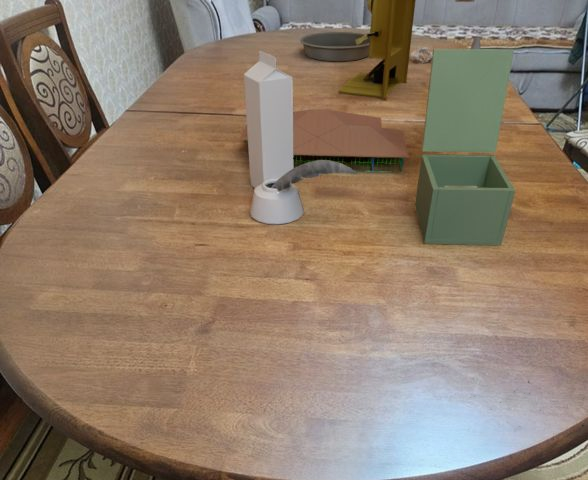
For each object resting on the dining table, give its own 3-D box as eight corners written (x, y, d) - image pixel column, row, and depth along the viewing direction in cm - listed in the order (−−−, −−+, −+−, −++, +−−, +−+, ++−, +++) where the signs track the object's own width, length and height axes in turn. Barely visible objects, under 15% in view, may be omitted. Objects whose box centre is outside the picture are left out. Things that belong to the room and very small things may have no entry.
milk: (264, 197, 97) (257, 60, 83) (250, 185, 101) (241, 52, 87) (294, 190, 99) (292, 55, 85) (279, 178, 103) (275, 47, 89)
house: (253, 130, 124) (251, 92, 119) (400, 133, 121) (404, 94, 116) (235, 169, 107) (232, 126, 101) (406, 174, 104) (411, 130, 99)
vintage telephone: (368, 71, 163) (377, -53, 144) (414, 76, 158) (429, -52, 139) (328, 100, 142) (332, -42, 122) (379, 106, 137) (392, -41, 118)
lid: (514, 49, 80) (512, 49, 80) (434, 49, 80) (433, 49, 81) (495, 152, 87) (494, 151, 88) (422, 151, 88) (421, 150, 88)
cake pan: (368, 45, 191) (369, 30, 188) (380, 62, 172) (381, 46, 169) (298, 46, 190) (297, 32, 187) (302, 63, 171) (302, 47, 168)
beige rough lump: (415, 51, 167) (409, 44, 171) (413, 66, 170) (407, 59, 174) (440, 49, 167) (434, 43, 172) (438, 64, 170) (431, 57, 175)
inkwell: (259, 198, 97) (256, 141, 90) (360, 209, 93) (364, 151, 86) (241, 221, 90) (237, 161, 83) (349, 235, 86) (352, 173, 79)
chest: (501, 245, 83) (515, 190, 77) (424, 243, 84) (433, 189, 78) (483, 206, 93) (494, 154, 88) (414, 204, 94) (421, 153, 88)
